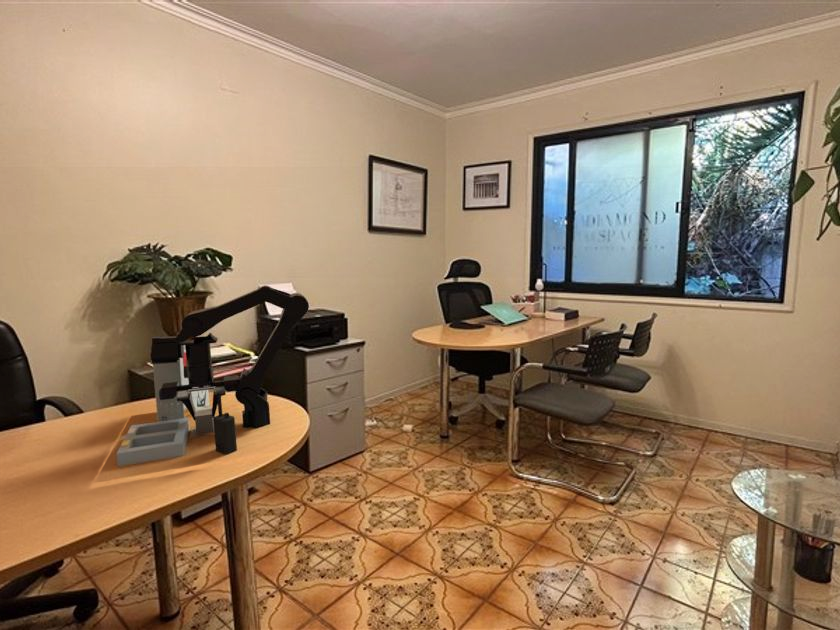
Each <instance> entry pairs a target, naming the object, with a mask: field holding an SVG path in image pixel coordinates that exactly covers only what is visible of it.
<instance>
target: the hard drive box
mask: <svg viewBox="0 0 840 630" xmlns="http://www.w3.org/2000/svg"><path fill="white" fill-rule="evenodd" d="M183 346H184V358H180V361H179V362H177V363H165V364H153V363H152V367H153V368H152V369H153V380H154V381H153V382H154V393H155V395H154V396H155V404H156V405H155V406H156V407H155V408H156V416H157V417H156V418H157V422H161V421H168V420H175V419H182V418H188V420H189V419H190V418H192V416H191V414H190V412H189V411H188V409H187V407H186V406H185V405H184V404H183V402H182V401H177V395H176V397H175V398H174V399H166V400H160V398H159V390H160V387H161V386H162V384H163V383H171V382H178V383H179V386H180V385H188V384H189V381H188V378H184V366H187V360H186V349H185V345H183ZM204 387H206V386H204ZM194 388H197V387H194ZM209 392H210V391H209V390H201V391H192V392H191V393H192V400H193V404H194V408H195V410H196V409H200V408H206V407H209V406H210V405H211V404H210V393H209ZM210 407H211V406H210Z"/></svg>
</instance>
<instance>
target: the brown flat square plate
mask: <svg viewBox="0 0 840 630" xmlns="http://www.w3.org/2000/svg"><path fill="white" fill-rule="evenodd" d="M208 436H215V434H214V431H213V432H208V433H202V434H196V425H195V426H191V428H190V433H189V439H195V438H201V437H208Z"/></svg>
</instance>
